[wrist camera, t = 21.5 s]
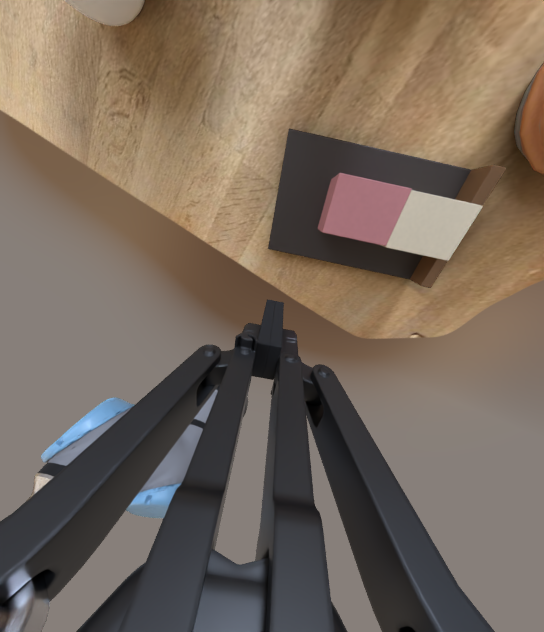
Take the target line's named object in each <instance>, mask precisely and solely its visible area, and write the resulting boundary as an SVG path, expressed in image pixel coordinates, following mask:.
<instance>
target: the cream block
mask: <svg viewBox="0 0 544 632" xmlns="http://www.w3.org/2000/svg"><path fill="white" fill-rule="evenodd" d="M482 207H483V206H481V205H477V204H472V203H468V202H463V201H459V200H454V199H450V198H445V197H441V196H436V195H432V194H427V193H423V192H418V191H414V190H411V192H410V194H409V196H408V199H407V201H406V203H405V205H404V207H403V210H402V212H401V214H400V216H399V218H398V221H397V223H396V225H395V227H394V229H393V231H392V234H391V236H390V238H389V240H388V242H387V245H386V246H384V247H386V248H391V249H396V250H400V251H405V252H410V253H414V254H419V255H423V256H428V257H433V258H437V259H442V260H447V261H449V259H450V258H451V256H452V254H453V253H454V251H455V250H456V248H457V247H458V245H459V243H460V242H461V240H462V239H463V237H464V235H465V234H466V232H467V231H468V229H469V228H470V226H471V224H472V223H473V221H474V220H475V218H476V217H477V215H478V213H479V212H480V210H481V209H482ZM381 246H383V245H381Z"/></svg>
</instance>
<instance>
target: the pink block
mask: <svg viewBox="0 0 544 632" xmlns="http://www.w3.org/2000/svg"><path fill="white" fill-rule="evenodd" d="M411 190H412V189H411V188H407V187H402V186H398V185H393V184H389V183H384V182H379V181H375V180H370V179H366V178H361V177H357V176H352V175H347V174H343V173H339V174H338V175H336V176H335V177H334V178H332V179H331V182H330V185H329V189H328V193H327V196H326V200H325V203H324V207H323V211H322V214H321V218H320V221H319V225H318V230H320V231H321V232H323V233H327V234H331V235H336V236H341V237H345V238H350V239H355V240H359V241H364V242H369V243H373V244H378V245H383V246H386V245H387V242H388V240H389V238H390V236H391V234H392V231H393V229H394V227H395V225H396V223H397V221H398V218H399V216H400V214H401V212H402V210H403V207H404V205H405V203H406V201H407V199H408V196H409V194H410V192H411Z"/></svg>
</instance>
